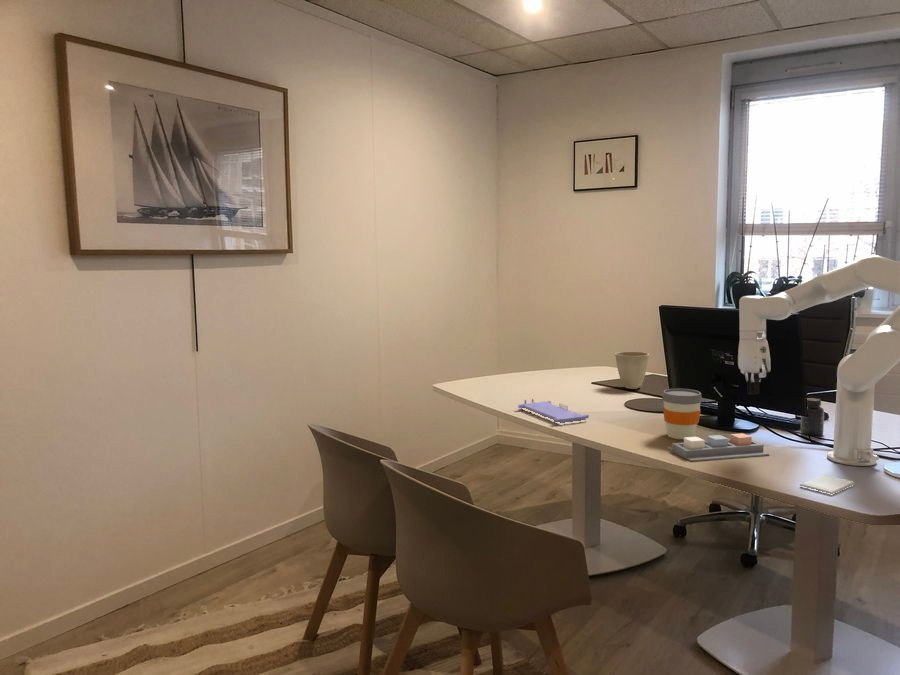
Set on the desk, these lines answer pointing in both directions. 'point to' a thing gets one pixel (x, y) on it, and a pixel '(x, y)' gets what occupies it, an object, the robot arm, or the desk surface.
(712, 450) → the tray
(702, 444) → the ivory key
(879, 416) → the desk surface
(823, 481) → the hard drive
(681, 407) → the reusable coffee cup
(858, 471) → the desk surface
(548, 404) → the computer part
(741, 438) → the terracotta key
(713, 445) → the slate key
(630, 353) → the plant pot
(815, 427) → the supplement bottle
